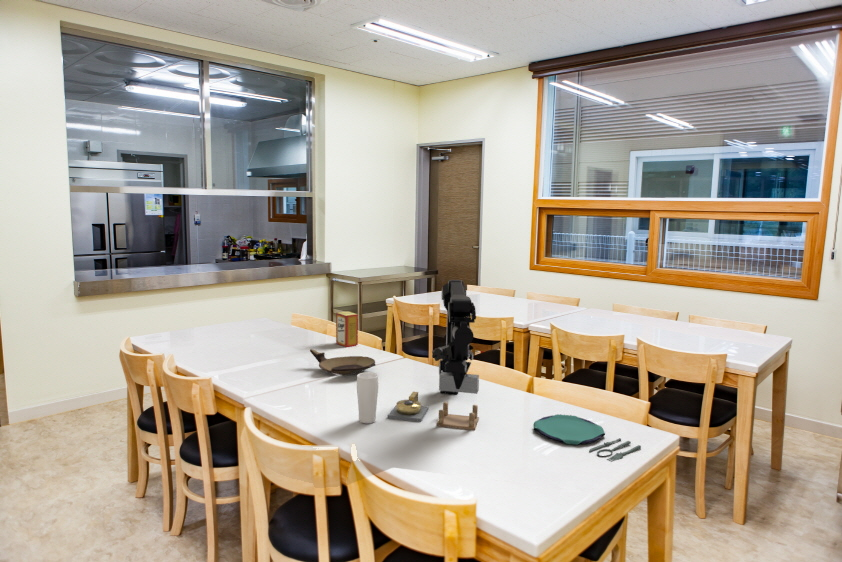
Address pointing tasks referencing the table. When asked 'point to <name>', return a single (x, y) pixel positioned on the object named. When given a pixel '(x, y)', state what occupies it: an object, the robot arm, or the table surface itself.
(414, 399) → the gold low rounded piece
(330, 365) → the frying pan
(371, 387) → the drinking glass
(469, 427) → the peg rack
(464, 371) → the robot arm
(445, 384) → the bar
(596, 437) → the cutlery set
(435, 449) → the table surface
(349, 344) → the baking soda box
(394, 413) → the nut base
